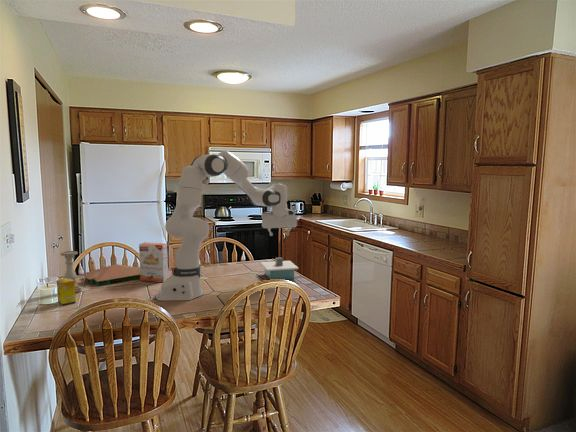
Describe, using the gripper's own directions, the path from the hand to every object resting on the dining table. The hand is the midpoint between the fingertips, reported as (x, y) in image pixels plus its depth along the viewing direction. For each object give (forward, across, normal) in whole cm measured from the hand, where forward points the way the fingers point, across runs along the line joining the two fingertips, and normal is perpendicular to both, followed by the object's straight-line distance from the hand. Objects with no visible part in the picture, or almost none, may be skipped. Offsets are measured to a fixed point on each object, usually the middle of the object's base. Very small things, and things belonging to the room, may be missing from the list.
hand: (279, 235), depth 236 cm
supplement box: (+25, -107, -21) cm, 112 cm away
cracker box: (+25, -69, +9) cm, 74 cm away
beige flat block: (+25, -90, +20) cm, 96 cm away
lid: (+18, 0, 0) cm, 18 cm away
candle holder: (+25, -109, -3) cm, 112 cm away
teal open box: (+24, 0, 0) cm, 24 cm away
